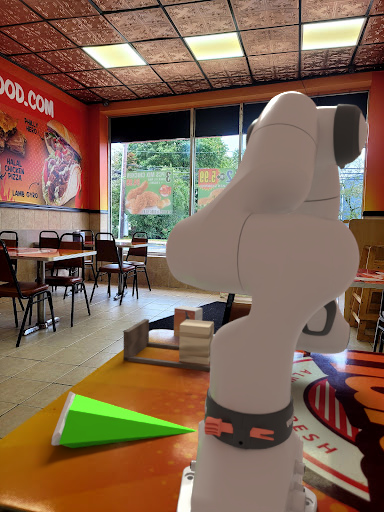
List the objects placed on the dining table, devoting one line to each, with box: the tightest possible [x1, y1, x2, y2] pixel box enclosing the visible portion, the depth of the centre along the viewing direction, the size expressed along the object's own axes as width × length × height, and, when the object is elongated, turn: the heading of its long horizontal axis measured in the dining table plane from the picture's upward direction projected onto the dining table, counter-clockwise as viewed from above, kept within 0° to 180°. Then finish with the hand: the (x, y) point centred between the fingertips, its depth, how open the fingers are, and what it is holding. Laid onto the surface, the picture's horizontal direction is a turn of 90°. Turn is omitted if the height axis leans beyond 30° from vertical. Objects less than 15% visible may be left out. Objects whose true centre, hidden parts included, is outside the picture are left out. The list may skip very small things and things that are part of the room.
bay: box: [123, 318, 210, 372], centre depth 100 cm, size 14×24×9 cm, turn 74°
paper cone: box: [51, 391, 197, 449], centre depth 64 cm, size 11×5×25 cm
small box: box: [173, 305, 203, 338], centre depth 119 cm, size 8×6×10 cm
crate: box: [178, 319, 215, 366], centre depth 98 cm, size 6×8×10 cm
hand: (227, 327), depth 95 cm, fingers closed
